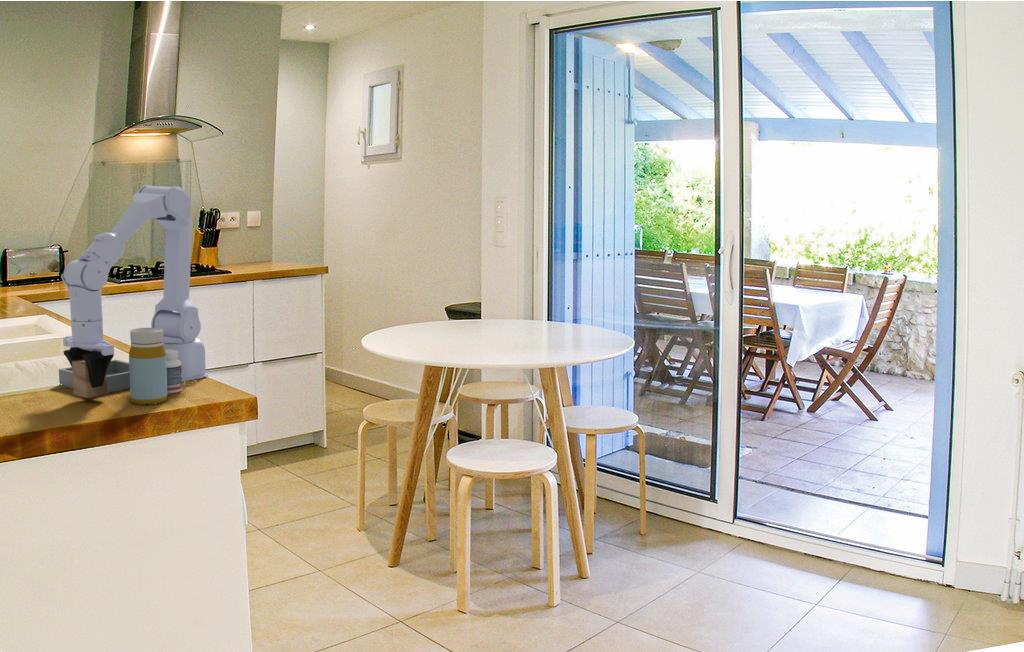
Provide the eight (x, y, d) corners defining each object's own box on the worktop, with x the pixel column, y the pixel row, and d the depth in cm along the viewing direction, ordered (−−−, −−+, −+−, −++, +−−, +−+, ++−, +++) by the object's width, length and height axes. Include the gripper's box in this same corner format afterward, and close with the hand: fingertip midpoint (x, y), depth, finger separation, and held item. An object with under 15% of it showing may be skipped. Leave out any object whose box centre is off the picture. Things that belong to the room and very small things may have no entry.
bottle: (173, 402, 173) (170, 331, 171) (138, 407, 168) (136, 334, 166) (159, 395, 178) (156, 326, 176) (125, 400, 173) (122, 329, 171)
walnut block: (94, 390, 175) (92, 357, 174) (107, 393, 173) (105, 360, 171) (73, 394, 171) (71, 360, 170) (86, 397, 169) (84, 364, 168)
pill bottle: (186, 391, 182) (185, 351, 181) (163, 395, 178) (162, 354, 177) (175, 386, 186) (174, 347, 184) (152, 390, 182) (150, 350, 180)
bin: (116, 374, 195) (116, 359, 194) (153, 383, 188) (152, 368, 187) (59, 384, 183) (58, 369, 183) (96, 394, 176) (95, 378, 176)
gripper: (47, 317, 170) (50, 382, 172) (89, 326, 162) (92, 394, 164) (80, 313, 175) (83, 376, 178) (122, 322, 168) (125, 387, 170)
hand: (90, 384), depth 171 cm, fingers closed on walnut block, 4 cm apart
